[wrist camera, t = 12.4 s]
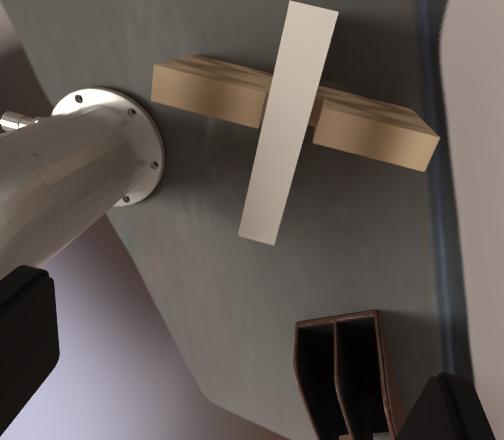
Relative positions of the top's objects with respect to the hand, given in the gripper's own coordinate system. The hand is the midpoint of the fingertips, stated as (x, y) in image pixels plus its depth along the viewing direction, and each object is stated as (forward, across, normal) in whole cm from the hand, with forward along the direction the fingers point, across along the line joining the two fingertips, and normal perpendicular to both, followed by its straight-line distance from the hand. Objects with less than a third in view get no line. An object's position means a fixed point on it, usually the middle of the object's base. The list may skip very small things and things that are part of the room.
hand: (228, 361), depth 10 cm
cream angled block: (+31, 0, -1) cm, 31 cm away
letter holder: (+31, -14, +31) cm, 46 cm away
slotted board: (+31, 0, -2) cm, 31 cm away
